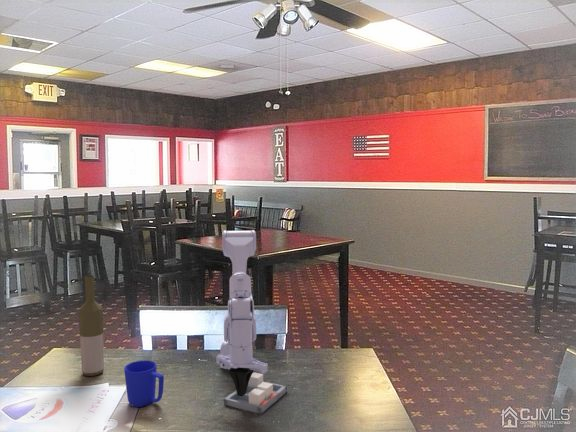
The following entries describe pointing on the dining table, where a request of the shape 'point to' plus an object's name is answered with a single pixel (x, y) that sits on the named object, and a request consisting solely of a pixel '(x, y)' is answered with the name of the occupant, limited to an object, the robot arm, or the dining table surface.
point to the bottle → (91, 332)
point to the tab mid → (266, 389)
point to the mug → (142, 383)
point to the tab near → (256, 397)
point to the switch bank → (244, 404)
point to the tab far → (255, 379)
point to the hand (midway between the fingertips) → (241, 394)
